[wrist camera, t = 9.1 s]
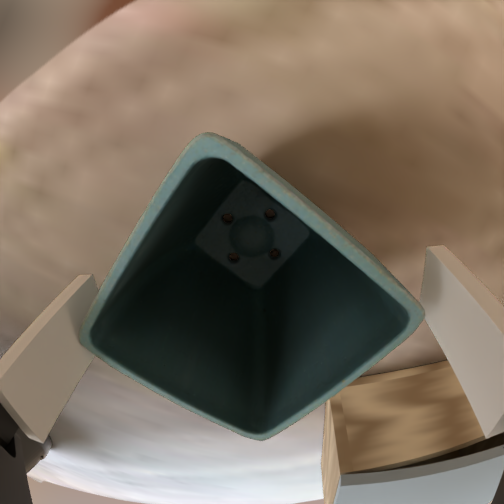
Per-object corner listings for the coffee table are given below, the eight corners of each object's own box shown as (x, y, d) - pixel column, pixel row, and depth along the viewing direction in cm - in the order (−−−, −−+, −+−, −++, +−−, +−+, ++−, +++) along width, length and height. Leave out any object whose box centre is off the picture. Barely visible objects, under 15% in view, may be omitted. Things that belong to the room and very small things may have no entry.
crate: (320, 463, 27) (325, 527, 20) (326, 381, 22) (340, 473, 15) (454, 434, 26) (474, 488, 19) (498, 345, 20) (540, 408, 13)
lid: (326, 516, 21) (325, 536, 19) (340, 453, 16) (340, 485, 14) (484, 488, 18) (487, 506, 16) (554, 406, 12) (564, 428, 10)
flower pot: (364, 224, 17) (434, 318, 9) (265, 325, 20) (260, 446, 12) (238, 119, 15) (201, 122, 7) (148, 245, 18) (72, 341, 10)
